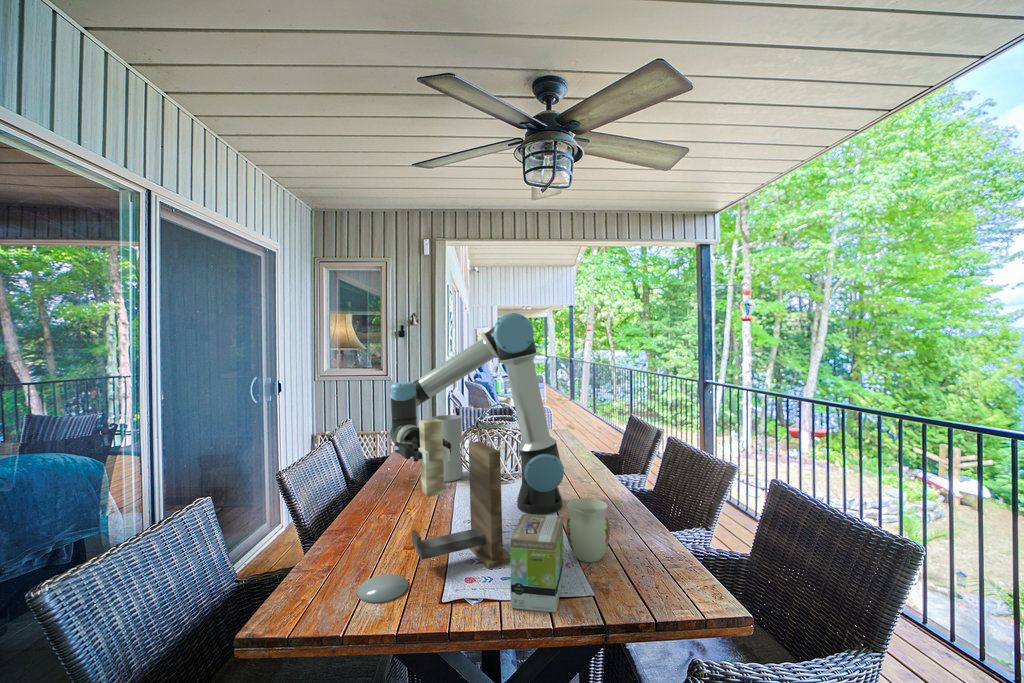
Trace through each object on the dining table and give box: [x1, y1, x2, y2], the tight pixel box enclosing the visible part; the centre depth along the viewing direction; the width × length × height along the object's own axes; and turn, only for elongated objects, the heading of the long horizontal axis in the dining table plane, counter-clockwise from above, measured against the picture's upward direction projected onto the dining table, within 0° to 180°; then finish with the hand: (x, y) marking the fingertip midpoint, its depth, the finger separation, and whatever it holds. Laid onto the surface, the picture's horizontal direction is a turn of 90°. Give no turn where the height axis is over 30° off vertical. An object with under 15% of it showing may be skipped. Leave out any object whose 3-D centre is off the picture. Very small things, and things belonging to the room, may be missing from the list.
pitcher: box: [565, 497, 611, 563], centre depth 119 cm, size 11×18×14 cm, turn 174°
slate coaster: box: [357, 573, 409, 604], centre depth 105 cm, size 11×11×1 cm
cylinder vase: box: [430, 414, 464, 483], centre depth 190 cm, size 12×12×25 cm
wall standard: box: [411, 441, 511, 570], centre depth 118 cm, size 23×16×28 cm
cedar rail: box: [418, 418, 445, 498], centre depth 115 cm, size 4×4×18 cm
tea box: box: [510, 513, 564, 613], centre depth 102 cm, size 15×10×15 cm, turn 168°
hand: (438, 457), depth 110 cm, fingers closed on cedar rail, 4 cm apart
